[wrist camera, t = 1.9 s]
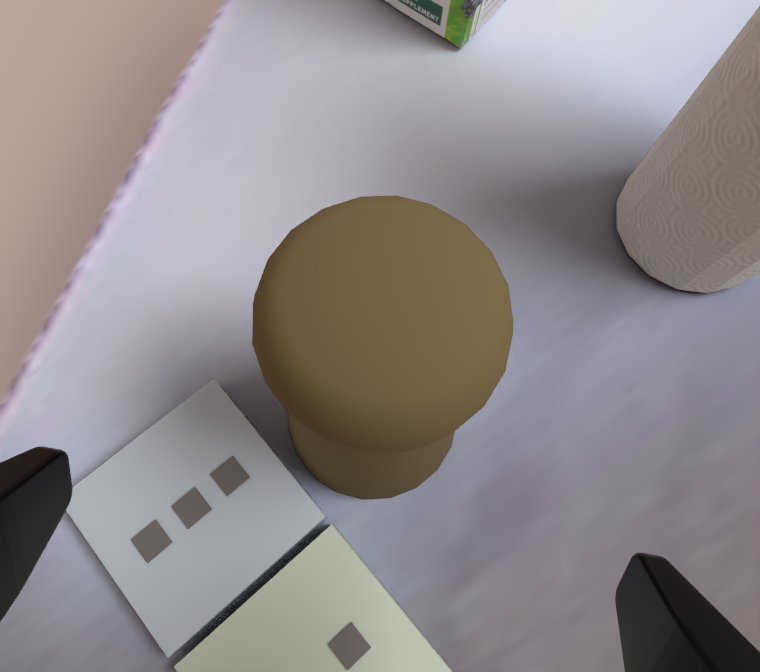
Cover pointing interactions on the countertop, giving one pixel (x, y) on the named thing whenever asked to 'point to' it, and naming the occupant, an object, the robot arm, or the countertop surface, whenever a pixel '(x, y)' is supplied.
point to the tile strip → (236, 553)
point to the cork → (380, 339)
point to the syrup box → (450, 16)
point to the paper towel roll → (703, 181)
